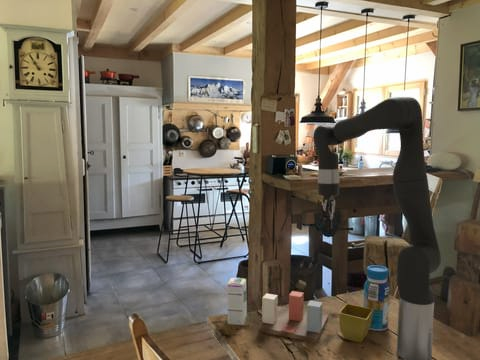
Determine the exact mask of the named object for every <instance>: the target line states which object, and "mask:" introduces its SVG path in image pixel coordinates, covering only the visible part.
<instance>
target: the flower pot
mask: <svg viewBox="0 0 480 360" xmlns="http://www.w3.org/2000/svg"><path fill="white" fill-rule="evenodd" d="M372 315H373V309H370V308H366V307H363V305H362V306H361V305H356V304H352V303H345V304H344V305H343V307H342V308H341V309H340V311H339V312H338V318H339V319H338V320H339V321H338V322H339V327H340V332H341V334H342V336H343V338H344V339H345V340H350V341H353V342H356V343H360V344H361V343H362V342H363V341H364V339H365V337H366V335H367V334H368V332H369V331H370V329H369V328H370V325H371V321H372Z"/></svg>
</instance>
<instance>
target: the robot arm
mask: <svg viewBox="0 0 480 360" xmlns="http://www.w3.org/2000/svg"><path fill="white" fill-rule="evenodd" d="M422 111H423V110H422V107H421V104H420V102H419V101H418V100H417V99H416V98H414V97H411V96H394V97H393V96H391V97H388V98H386V99H384V100H381V102H378V103H377V104H376V105H374V106H373V107H371V108H369V109H367V110H366V111H364V112H362V113H359V114H356V115H353V116H350V117H347V118H345V119H342V120H339V121H338V122H336V123H335V124H334V125H328V124H327V125H318V126H317V127H315V130H314V132H313V142H314V146H315V150H316V154H317V157H318V170H317V171H318V173H317V195H319V196H322V197H323V198H322V200H321V206H320V210H321V214H322V215H321V216H322V218H323V219H324V229H325V230H327V231H331V230H332V229H333V218H334V216H335V211H336V205H337V203H336V200H335V198H334V197H335V196H339V195H340V170H339V165H340V164H339V163H340V162H339V154H338V153H337V152H334V151H331V149H330V146H337V145H341V144H343V143H345V142H346V141H350V140H353V139H357V138H360V137H362V136H363V135H365V134H367V133H369V132H371V131H376V130H391V131H395V130H398V133H399V141H400V151H399V154H398V156H397V159H396V163H395V166H394V169H393V172H392V182H393V183H392V184H393V190H394V191H393V192H394V197H395V201H396V204H397V205H398V208H399V209H400V211H401V213H402V215H403V217H404V219H405V221H406V223H407V227H408V233H409V243H410V244H409V245H407V246H404V247H403V248H402V249H401V250H400V251H399V253H398V256H397V261H396V263H397V264H396V286H397V288H398V294H399V298H398V315H397V316H398V319H397V320H398V321H397V336H396V354H397V356H398V357H399V358H401V360H432V355H433V338H434V327H433V325H434V314H435V313H434V311H435V310H434V309H435V296H436V295H435V292H434V289H432V288H431V287H430V275H431V274H432V273H434V272H436V271H437V270H438V269H439V267H440V265H441V261H442V260H441V259H442V257H441V256H442V255H441V251H440V246H439V243H438V239H437V235H436V234H437V233H436V231H435V226H434V221H433V213H432V212H433V211H432V204H431V197H430V196H431V195H430V187H429V180H428V175H427V173H428V172H427V167H426V161H425V160H426V158H425V150H424V149H425V148H424V135H423V134H424V129H423V124H424V123H423V112H422Z"/></svg>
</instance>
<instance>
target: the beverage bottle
mask: <svg viewBox="0 0 480 360" xmlns="http://www.w3.org/2000/svg"><path fill="white" fill-rule="evenodd" d="M366 278H367V279H366V280H365V282H364V283H363V289H364V290H363V292H362V307H366V308H370V309H373V315H372V321H371V325H370V328H369V331H375V332H376V331H377V332H380V331H381V332H382V331H383V332H384V331H386V330H387V329H388V328H389V313H390V299H391V297H390V288H391V287H390V285H389V283H388V282H387V281H388V278H389V269H388V267H386V266H382V265H379V264H378V265H375V264H374V265H368V266H367V267H366Z"/></svg>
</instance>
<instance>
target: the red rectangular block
mask: <svg viewBox="0 0 480 360" xmlns="http://www.w3.org/2000/svg"><path fill="white" fill-rule="evenodd" d="M304 294H305V293H304V292H301V291H295V290H292V291H291V292H290V293H289V294H288V308H289V319H290V320H295V321H301V320H302V318H303V311H304V308H305V307H304V303H305V302H304V300H305V298H304V297H305V295H304Z"/></svg>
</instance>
